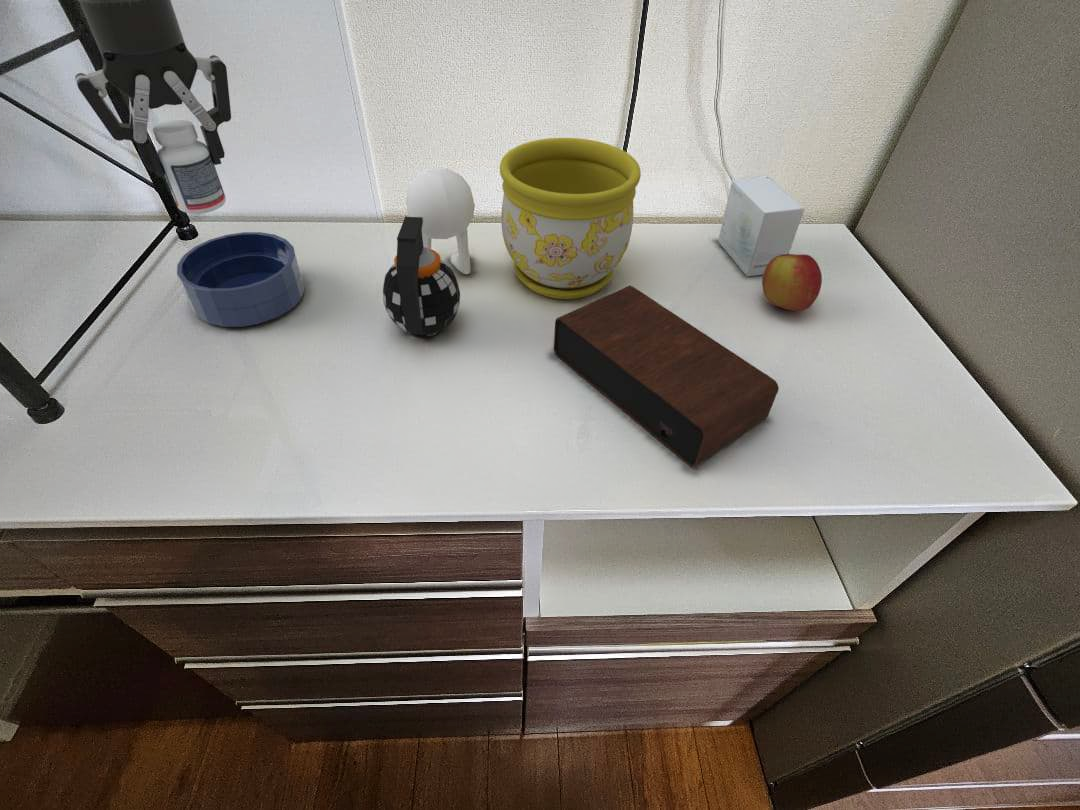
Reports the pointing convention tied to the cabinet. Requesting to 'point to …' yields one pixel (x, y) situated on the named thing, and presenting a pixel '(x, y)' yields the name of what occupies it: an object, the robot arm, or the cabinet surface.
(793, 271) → the apple
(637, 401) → the alarm clock
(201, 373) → the cabinet surface
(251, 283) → the basin
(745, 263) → the cosmetics box
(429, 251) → the grenade
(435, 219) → the toy character
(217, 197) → the pill bottle
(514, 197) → the flowerpot
